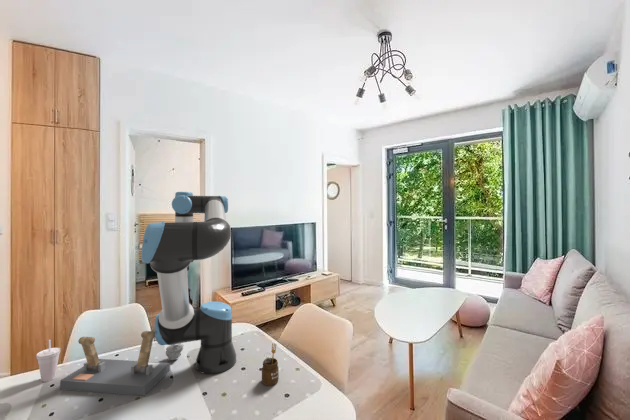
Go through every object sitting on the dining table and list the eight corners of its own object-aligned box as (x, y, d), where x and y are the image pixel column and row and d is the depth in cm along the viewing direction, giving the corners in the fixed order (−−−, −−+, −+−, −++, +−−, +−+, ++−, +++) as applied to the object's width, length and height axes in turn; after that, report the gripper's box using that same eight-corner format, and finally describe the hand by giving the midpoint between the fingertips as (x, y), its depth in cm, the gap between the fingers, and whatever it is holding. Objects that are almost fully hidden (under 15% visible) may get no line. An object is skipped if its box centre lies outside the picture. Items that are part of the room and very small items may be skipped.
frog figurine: (179, 363, 112) (179, 346, 112) (161, 363, 113) (161, 345, 113) (186, 355, 118) (186, 338, 118) (170, 355, 119) (170, 338, 119)
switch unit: (169, 370, 107) (169, 356, 107) (144, 395, 93) (144, 378, 93) (96, 366, 110) (96, 352, 110) (60, 389, 96) (60, 373, 96)
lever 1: (105, 366, 104) (95, 335, 100) (99, 371, 101) (90, 340, 97) (91, 365, 104) (81, 334, 100) (85, 370, 102) (75, 339, 98)
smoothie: (45, 385, 98) (45, 344, 98) (31, 383, 100) (30, 343, 99) (65, 374, 105) (65, 336, 104) (51, 372, 106) (51, 334, 106)
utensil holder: (258, 384, 99) (258, 350, 99) (267, 374, 105) (267, 342, 105) (273, 387, 98) (274, 352, 97) (281, 377, 104) (281, 344, 103)
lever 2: (150, 372, 101) (158, 331, 106) (146, 373, 99) (154, 331, 103) (136, 371, 102) (144, 330, 106) (131, 372, 100) (140, 331, 104)
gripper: (202, 225, 132) (202, 276, 133) (175, 225, 134) (175, 275, 134) (193, 226, 125) (193, 280, 125) (165, 226, 126) (165, 279, 126)
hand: (184, 278), depth 130 cm, fingers closed
